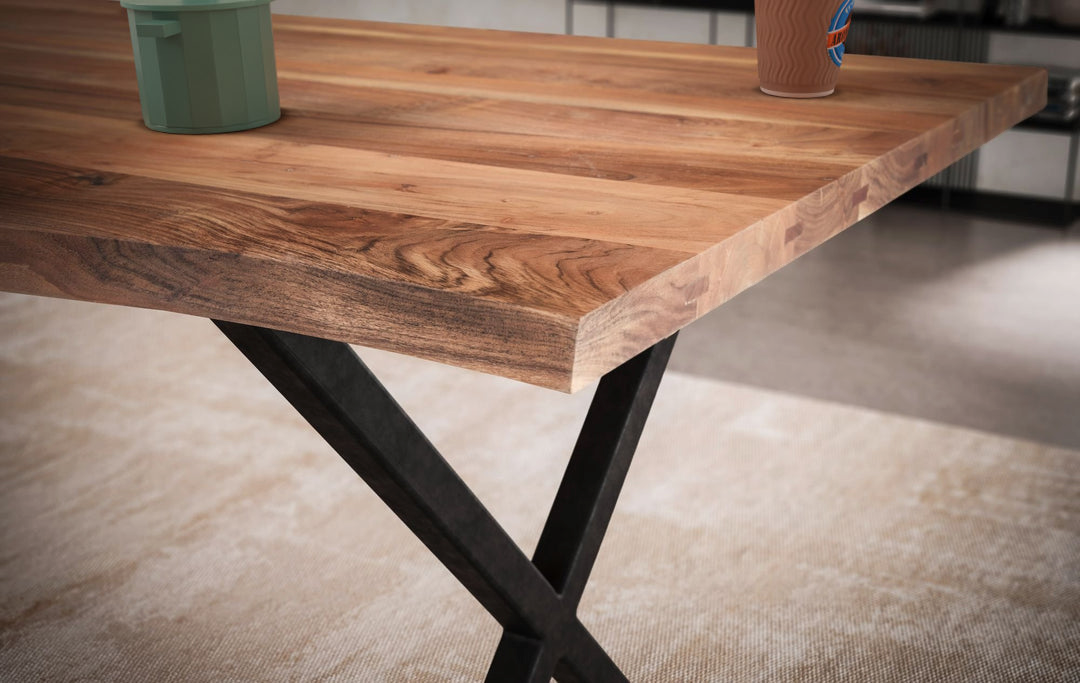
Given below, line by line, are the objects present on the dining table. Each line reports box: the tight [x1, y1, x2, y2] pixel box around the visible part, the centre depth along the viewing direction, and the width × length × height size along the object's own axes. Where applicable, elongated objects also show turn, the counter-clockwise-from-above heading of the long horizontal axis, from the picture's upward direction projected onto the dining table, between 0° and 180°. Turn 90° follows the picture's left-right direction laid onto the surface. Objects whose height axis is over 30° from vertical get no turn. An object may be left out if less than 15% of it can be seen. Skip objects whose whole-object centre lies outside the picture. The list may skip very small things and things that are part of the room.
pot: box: [126, 3, 282, 135], centre depth 101 cm, size 12×17×10 cm
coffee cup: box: [754, 0, 855, 99], centre depth 109 cm, size 10×10×12 cm
